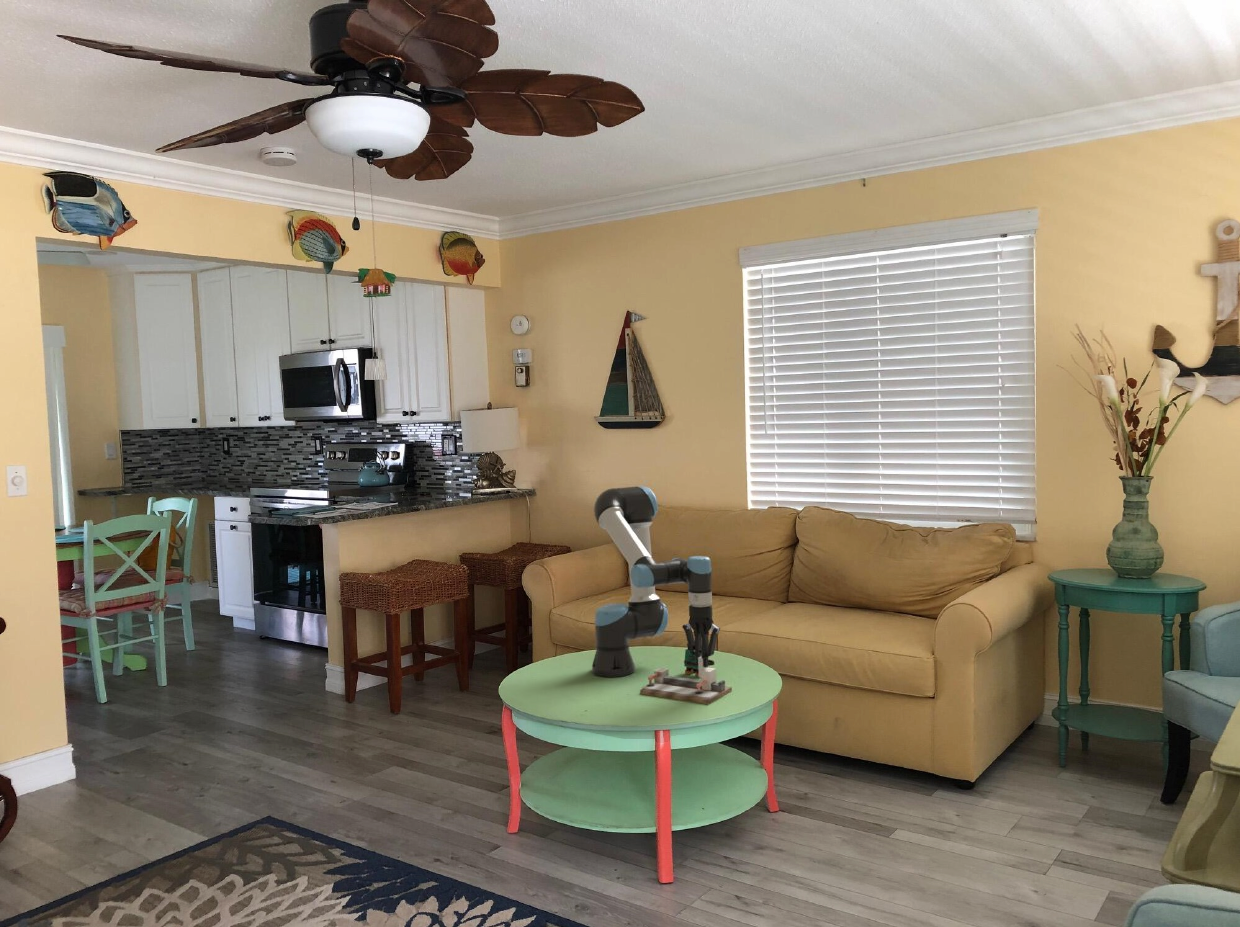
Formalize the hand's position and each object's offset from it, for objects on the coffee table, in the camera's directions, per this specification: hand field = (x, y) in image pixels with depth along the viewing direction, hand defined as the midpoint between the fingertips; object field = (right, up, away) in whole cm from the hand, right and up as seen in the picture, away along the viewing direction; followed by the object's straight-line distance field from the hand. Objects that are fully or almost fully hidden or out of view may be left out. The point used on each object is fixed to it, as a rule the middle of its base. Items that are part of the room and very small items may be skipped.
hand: (702, 676), depth 305 cm
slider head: (+1, -4, -3) cm, 5 cm away
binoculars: (+1, -4, +23) cm, 23 cm away
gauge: (-5, -5, 0) cm, 7 cm away
